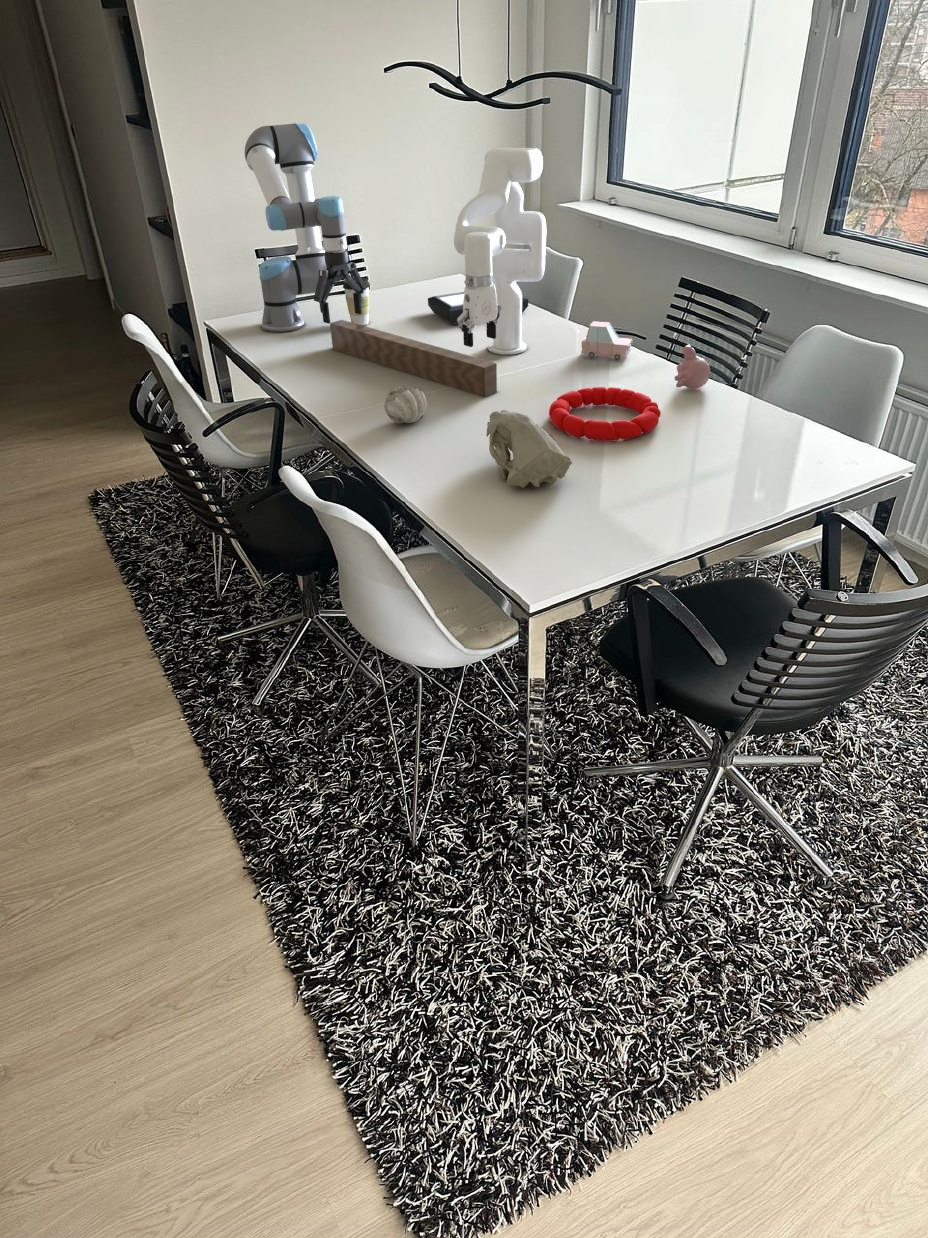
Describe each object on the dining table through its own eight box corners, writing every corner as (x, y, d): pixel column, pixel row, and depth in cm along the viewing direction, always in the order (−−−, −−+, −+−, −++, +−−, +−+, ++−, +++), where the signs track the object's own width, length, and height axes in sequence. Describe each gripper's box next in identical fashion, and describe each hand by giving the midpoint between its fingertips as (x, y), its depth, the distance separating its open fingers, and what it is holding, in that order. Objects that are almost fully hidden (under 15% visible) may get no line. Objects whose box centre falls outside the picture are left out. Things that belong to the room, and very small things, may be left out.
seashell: (375, 421, 248) (372, 387, 243) (423, 410, 254) (421, 376, 248) (391, 434, 241) (388, 398, 235) (439, 422, 246) (438, 387, 241)
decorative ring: (589, 435, 224) (684, 402, 234) (527, 398, 247) (617, 369, 256) (589, 461, 229) (683, 427, 238) (529, 422, 251) (617, 393, 260)
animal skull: (496, 517, 219) (521, 479, 201) (463, 429, 225) (484, 384, 207) (557, 503, 225) (586, 465, 206) (523, 417, 231) (549, 373, 212)
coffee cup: (372, 326, 323) (368, 283, 314) (345, 327, 323) (340, 284, 315) (374, 318, 331) (371, 276, 322) (348, 319, 331) (344, 277, 323)
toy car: (626, 362, 283) (628, 330, 277) (579, 358, 288) (580, 327, 282) (632, 353, 290) (634, 322, 285) (586, 349, 295) (588, 318, 289)
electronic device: (448, 308, 317) (427, 295, 332) (449, 326, 320) (428, 312, 335) (528, 296, 327) (504, 284, 342) (528, 313, 330) (504, 301, 346)
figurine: (665, 387, 264) (669, 347, 257) (693, 380, 268) (698, 340, 261) (686, 396, 257) (690, 355, 250) (714, 388, 262) (720, 348, 255)
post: (332, 348, 303) (329, 322, 298) (344, 345, 306) (341, 319, 301) (485, 396, 262) (484, 367, 257) (496, 392, 265) (496, 363, 260)
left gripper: (311, 258, 275) (320, 328, 287) (372, 244, 289) (378, 311, 301) (297, 255, 279) (306, 324, 291) (357, 242, 294) (363, 307, 306)
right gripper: (467, 289, 241) (468, 351, 251) (509, 276, 251) (509, 337, 261) (447, 284, 245) (449, 346, 255) (489, 272, 255) (490, 332, 265)
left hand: (342, 317), depth 296 cm, fingers open, 13 cm apart
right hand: (480, 341), depth 258 cm, fingers open, 9 cm apart
